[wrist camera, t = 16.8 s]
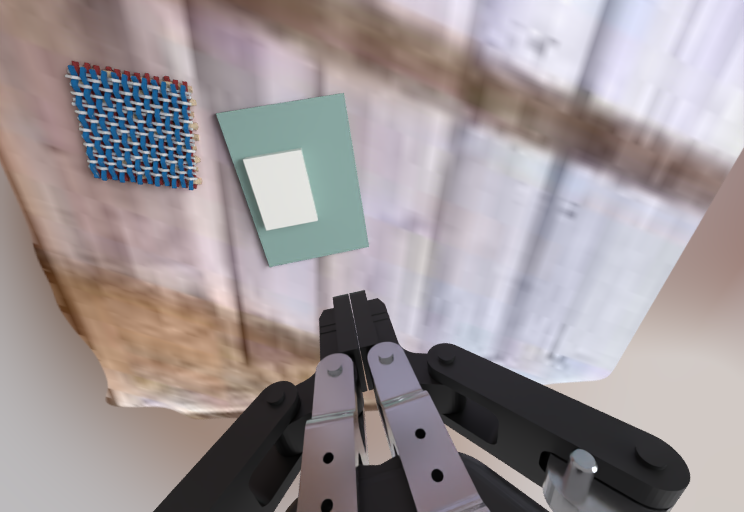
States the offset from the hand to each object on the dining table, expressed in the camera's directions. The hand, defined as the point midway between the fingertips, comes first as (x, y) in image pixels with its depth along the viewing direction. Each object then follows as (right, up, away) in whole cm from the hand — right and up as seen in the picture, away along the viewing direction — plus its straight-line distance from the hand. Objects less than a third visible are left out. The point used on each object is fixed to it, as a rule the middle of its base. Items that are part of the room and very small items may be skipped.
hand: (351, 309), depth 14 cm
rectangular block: (-8, +6, +22) cm, 24 cm away
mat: (-7, +11, +22) cm, 25 cm away
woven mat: (-22, +15, +17) cm, 32 cm away
